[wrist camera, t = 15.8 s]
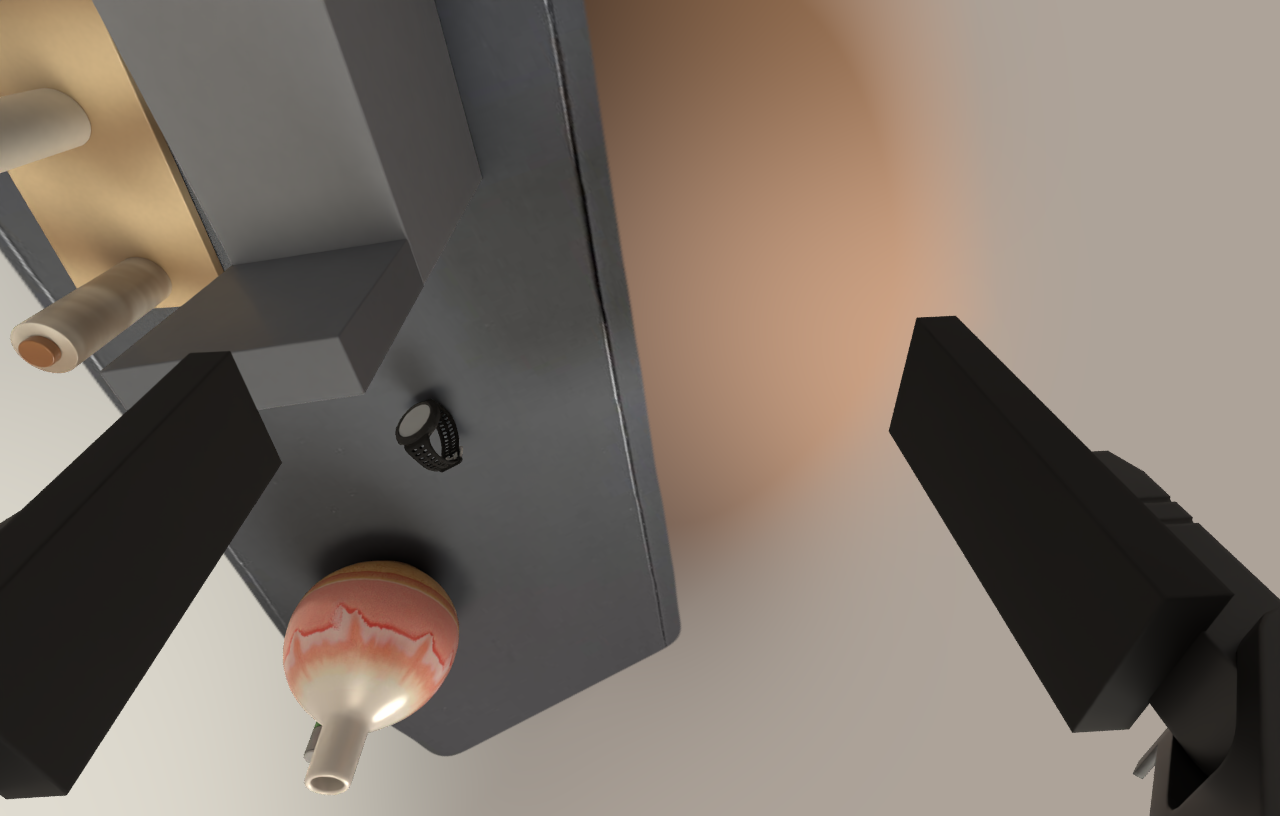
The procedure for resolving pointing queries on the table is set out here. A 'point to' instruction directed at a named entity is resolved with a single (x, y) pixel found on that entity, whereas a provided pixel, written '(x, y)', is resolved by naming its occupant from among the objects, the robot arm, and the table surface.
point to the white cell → (39, 126)
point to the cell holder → (99, 188)
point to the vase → (366, 658)
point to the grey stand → (300, 180)
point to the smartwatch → (418, 430)
